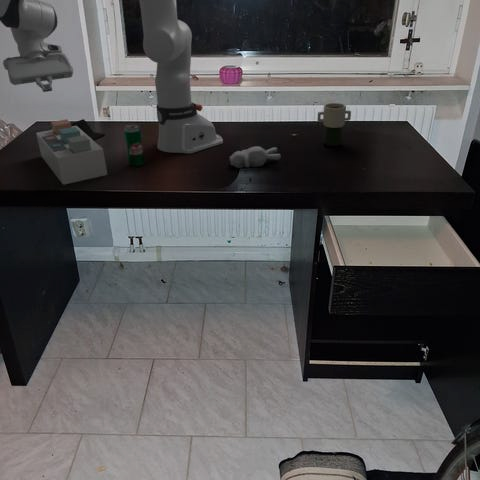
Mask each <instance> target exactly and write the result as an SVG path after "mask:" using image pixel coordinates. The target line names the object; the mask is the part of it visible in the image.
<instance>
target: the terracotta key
mask: <svg viewBox="0 0 480 480" xmlns="http://www.w3.org/2000/svg"><path fill="white" fill-rule="evenodd" d="M50 124H51V127H52V129H51V130H53V133H54V134H55V135H56V136H57V135H60V133H59V130H60V129H66V128H72V126H71V124H72V123H71V122H70V121H69V120H68V119H61V120H55V121H51V122H50Z"/></svg>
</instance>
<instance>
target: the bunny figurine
mask: <svg viewBox="0 0 480 480" xmlns="http://www.w3.org/2000/svg"><path fill="white" fill-rule="evenodd" d="M277 152H278V148H277V147H271V148H269V149H265V148H263V147H261V146H256V145H255V146H251V147H249V148H248V149H242V150H241V151H240V150H236V151H235V152H233V154H232V155H231V156H229V161H230V162H229V163H230V166H231V167H232V166H233V167H235V168H238V169H241V168H250V167H252V168H258V167H263V166H264V164H265V163H266V161H267V160H274V161H275V160H276V161H278V160H281V157H282V156H281V153H277Z"/></svg>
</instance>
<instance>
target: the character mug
mask: <svg viewBox="0 0 480 480" xmlns="http://www.w3.org/2000/svg"><path fill="white" fill-rule="evenodd" d="M346 114H347V117H346ZM321 116H323V117H322V118H321ZM351 116H352V111H351V110H347V105H346V104H344V103H340V102H339V103H337V102H331V103H330V102H329V103H326V104H323V111H319V112H318V113H317V118H316V119H317V122H318V123H323V126H325V129H324V135H323V140H322V142H323V143H322V144H325V145H326V146H331V147H337V146H340V145H342V143H343V141H342V140H343V137H342V127H344V126H345V123H346V121H347V122H348V121H351Z"/></svg>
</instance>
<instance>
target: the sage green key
mask: <svg viewBox="0 0 480 480" xmlns="http://www.w3.org/2000/svg"><path fill="white" fill-rule="evenodd" d="M67 139H68V144H69V149H70V151H71V152H72V153H73V154H74V153H79V152H84V151H89V150H91V145H90V140H89V139H88V138H87V137H86V136H85V135H82V136H77V137H72V138H67Z"/></svg>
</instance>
